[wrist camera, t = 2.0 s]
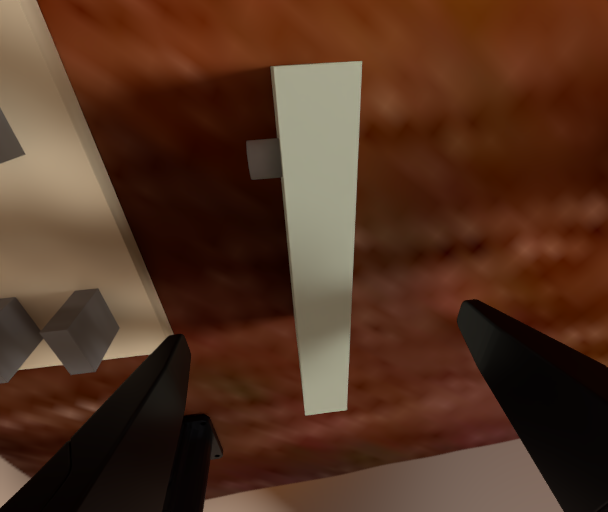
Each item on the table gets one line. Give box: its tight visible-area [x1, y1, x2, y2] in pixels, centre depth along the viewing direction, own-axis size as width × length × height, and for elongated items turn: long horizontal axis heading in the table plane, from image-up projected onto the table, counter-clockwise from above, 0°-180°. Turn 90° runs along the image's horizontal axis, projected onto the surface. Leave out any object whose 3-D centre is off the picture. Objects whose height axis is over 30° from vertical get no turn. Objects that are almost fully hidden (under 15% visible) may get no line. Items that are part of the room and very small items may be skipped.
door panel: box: [246, 61, 362, 415], centre depth 13 cm, size 14×3×7 cm, turn 3°
